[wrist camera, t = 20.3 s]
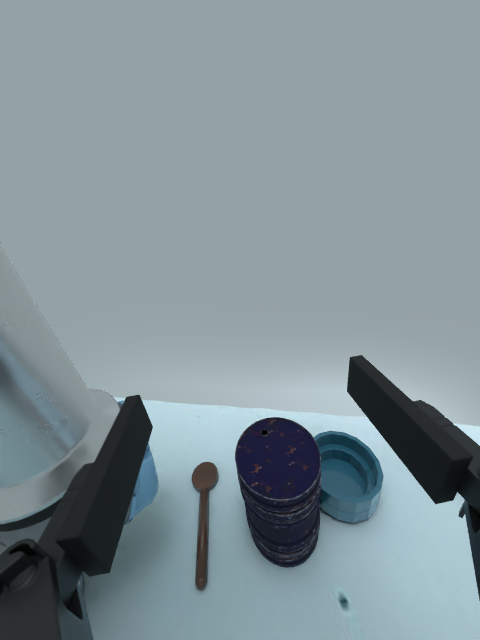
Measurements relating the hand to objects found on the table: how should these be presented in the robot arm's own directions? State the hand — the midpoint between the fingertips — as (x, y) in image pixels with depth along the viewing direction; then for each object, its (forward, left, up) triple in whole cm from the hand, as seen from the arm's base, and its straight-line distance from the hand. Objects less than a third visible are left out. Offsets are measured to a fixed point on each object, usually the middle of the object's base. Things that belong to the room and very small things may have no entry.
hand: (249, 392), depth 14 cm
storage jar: (0, +6, -30) cm, 31 cm away
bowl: (+9, +12, -30) cm, 33 cm away
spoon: (-11, +5, -30) cm, 32 cm away
